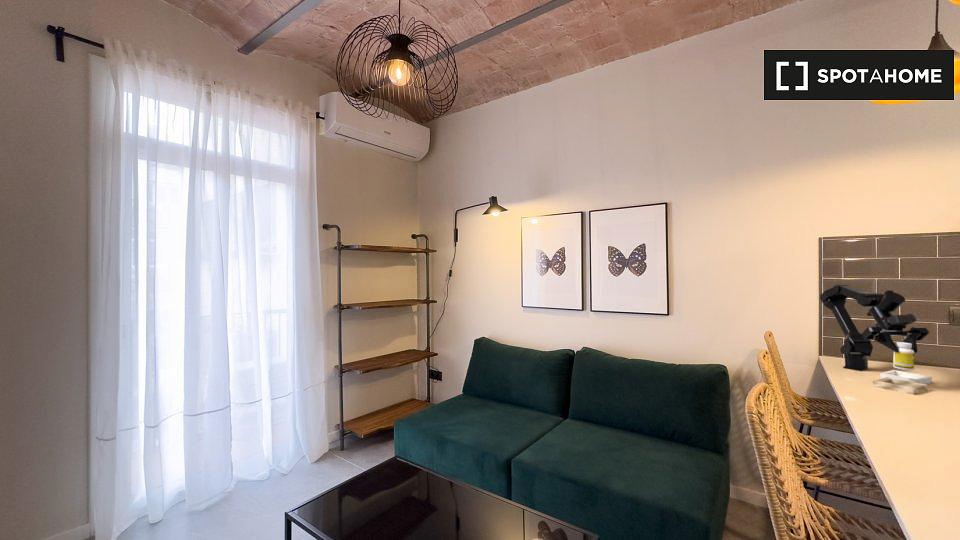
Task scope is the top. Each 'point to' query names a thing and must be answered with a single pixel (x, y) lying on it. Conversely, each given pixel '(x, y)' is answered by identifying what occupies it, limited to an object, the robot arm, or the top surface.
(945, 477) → the top surface
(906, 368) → the supplement bottle
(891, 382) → the wooden square frame
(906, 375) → the plastic tray
